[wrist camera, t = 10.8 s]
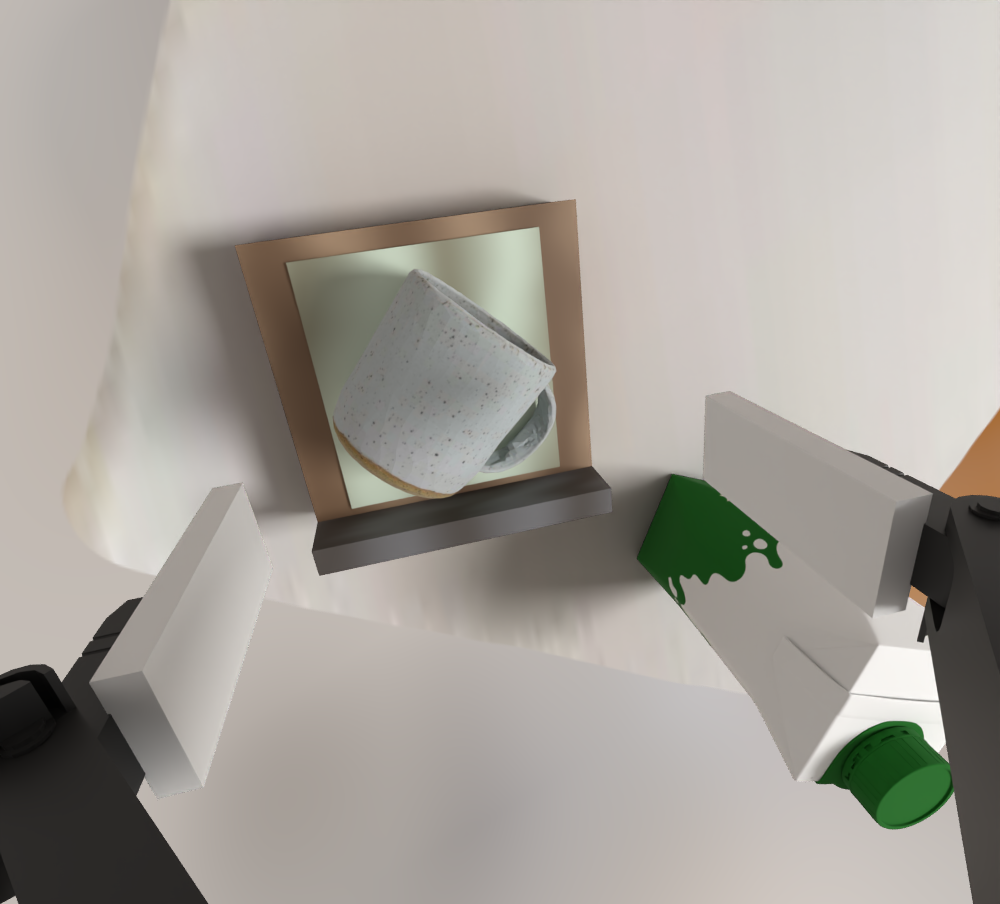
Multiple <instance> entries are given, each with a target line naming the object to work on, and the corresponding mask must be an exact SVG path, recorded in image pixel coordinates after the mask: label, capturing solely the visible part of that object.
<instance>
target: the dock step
mask: <svg viewBox="0 0 1000 904" xmlns="http://www.w3.org/2000/svg"><path fill="white" fill-rule="evenodd" d="M235 248H236V252H237V255H238V258H239V262H240V265H241V268H242V272H243V275H244V278H245V282H246V285H247V288H248V292H249V295H250V298H251V302H252V305H253V308H254V312H255V315H256V318H257V322H258V325H259V328H260V332H261V335H262V338H263V342H264V345H265V348H266V352H267V355H268V358H269V362H270V365H271V368H272V371H273V375H274V378H275V381H276V385H277V388H278V391H279V395H280V398H281V401H282V405H283V408H284V411H285V415H286V418H287V421H288V425H289V428H290V431H291V435H292V438H293V441H294V445H295V448H296V451H297V455H298V458H299V461H300V465H301V468H302V471H303V475H304V478H305V481H306V485H307V488H308V491H309V495H310V498H311V501H312V505H313V508H314V511H315V515H316V518H317V521H318V524H317V529H316V533H315V538H314V543H313V548H312V554H313V557H314V560H315V563H316V567H317V570H318V573H319V576H321V575H325V574H330V573H334V572H339V571H344V570H348V569H353V568H357V567H362V566H367V565H371V564H376V563H380V562H385V561H390V560H394V559H399V558H403V557H408V556H412V555H417V554H422V553H426V552H431V551H435V550H440V549H445V548H449V547H454V546H458V545H463V544H468V543H472V542H477V541H481V540H486V539H491V538H495V537H500V536H504V535H509V534H513V533H518V532H523V531H527V530H532V529H536V528H541V527H546V526H550V525H555V524H559V523H564V522H569V521H573V520H578V519H582V518H587V517H592V516H596V515H601V514H605V513H610V512H612V496H611V487H610V486H609V485H608V484H607V483H606V482H605V481H604V479H603V478H602V477H601V476H600V475H599V474H598V473H597V471H596V470H595V469H594V468H593V467H592V460H591V444H590V427H589V411H588V395H587V378H586V362H585V345H584V329H583V313H582V296H581V280H580V263H579V247H578V230H577V214H576V199H574V200H566V201H557V202H549V203H542V204H535V205H527V206H520V207H513V208H505V209H498V210H490V211H483V212H476V213H468V214H461V215H454V216H446V217H439V218H431V219H424V220H417V221H409V222H402V223H395V224H387V225H380V226H372V227H365V228H358V229H350V230H343V231H336V232H328V233H321V234H313V235H306V236H299V237H291V238H284V239H277V240H269V241H262V242H255V243H248V244H242V245H235ZM413 269H421V270H423V271H425V272H428V273H430V274H431V275H433V276H434V277H436V278H438V279H440V280H441V281H443V282H444V283H446V284H447V285H449V286H451V287H452V288H454V289H455V290H456V291H458V292H460V293H462V294H463V295H464V296H465V297H467V298H468V299H470V300H471V301H473V302H474V303H476V304H477V305H479V306H480V307H482V308H483V309H484V310H486V311H487V312H488V313H489V314H491V315H492V316H493V317H495V318H496V319H498V320H499V321H501V322H503V323H504V324H505V325H506V326H507V327H509V328H510V329H511V330H513V331H514V332H515V333H516V334H518V335H519V336H521V337H522V338H523V339H524V340H526V341H527V342H528V343H529V344H531V345H532V346H533V347H534V348H536V349H537V350H538V351H539V352H540V353H541V354H543V355H544V356H545V357H546V358H548V359H549V360H550V361H551V362H552V363H553V365H554V366H555V368H556V373H555V374H554V376H553V378H552V379H551V381H550V382H549V383H548V385H549V387H550V389H551V391H552V393H553V395H554V397H555V403H556V418H555V421H554V424H553V427H552V429H551V431H550V433H549V434H548V436H547V437H546V439H545V440H544V442H543V443H542V444H541V445H540V446H539V448H538V449H537V450H536V451H535V452H534V453H533V454H532V455H530V456H529V457H528V458H527V459H526V460H524V461H523V462H522V463H520V464H518V465H516V466H514V467H513V468H510V469H508V470H505V471H503V472H499V473H483V472H478V473H477V474H476V475H475V476H474V477H473V478H472V479H471V480H470V481H469V482H468V483H467V484H466V485H465V486H464V487H463V488H462V489H460V490H459V491H458V492H456V493H455V494H454V495H452V496H450V497H445V498H435V499H430V498H424V497H419V496H415V495H412V494H409V493H406V492H404V491H402V490H399V489H397V488H395V487H393V486H391V485H389V484H387V483H385V482H384V481H382V480H380V479H379V478H377V477H376V476H374V475H373V474H371V473H370V472H369V471H367V470H366V469H365V468H363V467H362V466H361V465H360V464H359V463H358V462H357V461H356V460H355V459H353V458H352V457H351V456H350V455H349V453H348V452H347V451H346V450H345V448H344V447H343V445H342V444H341V442H340V441H339V439H338V437H337V434H336V432H335V430H334V426H333V413H334V409H335V406H336V403H337V401H338V398H339V396H340V393H341V390H342V388H343V386H344V384H345V383H346V381H347V379H348V378H349V376H350V374H351V373H352V371H353V369H354V368H355V366H356V364H357V363H358V361H359V359H360V358H361V356H362V354H363V352H364V351H365V349H366V347H367V346H368V344H369V342H370V340H371V338H372V336H373V335H374V333H375V331H376V329H377V328H378V326H379V324H380V322H381V321H382V319H383V317H384V316H385V314H386V312H387V310H388V309H389V307H390V305H391V304H392V302H393V300H394V298H395V297H396V295H397V293H398V292H399V290H400V288H401V286H402V285H403V283H404V281H405V279H406V278H407V276H408V274H409V272H411V271H412V270H413ZM537 404H538V397H537V398H536V399H535V401H534V402H533V403H532V405H531V406H530V407H529V408H528V410H527V411H526V412H525V413H524V415H523V416H522V417H521V418H520V419H519V421H518V422H517V423H516V424H515V425H514V427H513V428H512V429H511V430H510V431H509V433H508V434H507V435H506V436H505V437H504V439H503V440H502V441H501V442H500V443H499V445H498V446H497V448H496V449H495V450H494V451H497V450H499V449H501V448H503V447H505V446H506V445H507V444H508V443H509V441H511V440H512V439H514V438H515V436H516V435H517V434H518V433H519V432H520V431H521V429H522V428H523V427H524V426H525V425H526V424H527V423H528V421H529V420H530V419H531V417H532V416H533V415H534V411H535V409H536V407H537Z"/></svg>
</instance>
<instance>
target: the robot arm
mask: <svg viewBox="0 0 1000 904" xmlns="http://www.w3.org/2000/svg"><path fill="white" fill-rule="evenodd" d="M703 479H704V480H705V481H706V482H707V483H708V484H710V485H711V486H712V487H713V488H715V489H716V490H717V491H718V492H719V493H721V494H722V495H723V496H724V497H725V498H727V499H728V500H729V501H730V502H732V503H733V504H734V505H735V506H736V507H738V508H739V509H740V510H741V511H742V512H744V513H745V514H746V515H747V516H749V517H750V518H751V519H752V520H753V521H755V522H756V523H757V524H758V525H759V526H761V527H762V528H763V529H764V530H766V531H767V532H768V533H769V534H770V535H772V536H773V537H774V538H775V539H776V540H778V541H779V542H780V543H781V544H783V545H784V546H785V547H786V548H787V549H789V550H790V551H791V552H792V553H793V554H795V555H796V556H797V557H798V558H800V559H801V560H802V561H803V562H804V563H806V564H807V565H808V566H809V567H810V568H812V569H813V570H814V571H815V572H817V573H818V574H819V575H820V576H821V577H823V578H824V579H825V580H826V581H827V582H829V583H830V584H831V585H832V586H834V587H835V588H836V589H837V590H838V591H840V592H841V593H842V594H843V595H844V596H846V597H847V598H848V599H849V600H851V601H852V602H853V603H854V604H855V605H857V606H858V607H859V608H860V609H861V610H863V611H864V612H865V613H866V614H868V615H869V616H870V617H871V618H872V619H873V618H877V617H881V616H885V615H889V614H893V613H897V612H901V611H904V610H906V606H907V602H908V598H909V593H910V589H911V585H912V586H913V587H915V588H916V589H918V590H919V591H921V592H922V593H923V594H925V595H926V596H928V598H927V602H926V606H925V610H924V614H923V618H922V622H921V626H920V630H919V634H918V638H917V642H921V643H924V639H925V636H927V635H928V639H929V645H930V651H931V657H932V663H933V669H934V675H935V681H936V687H937V693H938V699H939V704H940V710H941V716H942V722H943V728H944V734H945V740H946V746H947V752H948V758H949V764H950V770H951V776H952V781H953V787H954V793H955V799H956V805H957V811H958V817H959V823H960V828H961V835H962V841H963V846H964V853H965V858H966V864H967V870H968V876H969V882H970V888H971V893H972V900H973V904H1000V498H997V497H992V496H982V495H970V496H962V497H958V498H956V499H955V498H953V497H951V496H949V495H947V494H945V493H943V492H941V491H939V490H937V489H935V488H933V487H931V486H929V485H927V484H925V483H923V482H921V481H919V480H917V479H915V478H913V477H911V476H909V475H905V476H904V473H902V472H900V471H898V470H896V469H894V468H892V467H890V468H889V467H888V465H886V464H884V463H882V462H880V461H878V460H876V459H874V458H872V457H870V456H867V455H864V454H860V453H856V452H853V451H849V450H846V449H844V448H842V447H840V446H838V445H836V444H834V443H832V442H830V441H828V440H826V439H824V438H822V437H820V436H818V435H816V434H814V433H812V432H810V431H808V430H806V429H804V428H802V427H800V426H798V425H796V424H794V423H792V422H790V421H788V420H786V419H784V418H782V417H780V416H778V415H776V414H774V413H772V412H770V411H768V410H766V409H764V408H762V407H760V406H758V405H756V404H754V403H752V402H750V401H748V400H746V399H744V398H743V397H741V396H739V395H737V394H735V393H733V392H731V391H728V392H722V393H717V394H712V395H706V401H705V430H704V458H703ZM272 570H273V566H272V563H271V561H270V558H269V555H268V552H267V549H266V547H265V544H264V541H263V538H262V535H261V533H260V530H259V527H258V524H257V521H256V519H255V516H254V513H253V510H252V507H251V504H250V502H249V499H248V496H247V493H246V490H245V488H244V485H243V483H238V484H233V485H227V486H222V487H217V488H212V490H211V491H210V493H209V494H208V496H207V498H206V499H205V501H204V502H203V504H202V506H201V507H200V509H199V510H198V512H197V513H196V515H195V517H194V518H193V520H192V521H191V523H190V524H189V526H188V528H187V529H186V531H185V532H184V534H183V535H182V537H181V539H180V540H179V542H178V543H177V545H176V546H175V548H174V550H173V551H172V553H171V554H170V556H169V557H168V559H167V561H166V562H165V564H164V565H163V567H162V568H161V570H160V572H159V573H158V575H157V576H156V578H155V580H154V581H153V583H152V584H151V586H150V588H149V589H148V591H147V592H146V594H145V595H144V597H141V598H137V599H132V600H128V601H126V602H125V603H124V604H123V605H122V606H120V607H119V608H118V609H117V610H116V611H115V612H113V613H112V614H111V615H110V616H109V617H107V618H106V620H105V621H104V622H103V624H102V625H101V627H100V628H99V629H98V631H97V633H96V634H95V635H94V637H93V641H91V642H89V644H88V645H87V647H86V648H85V650H84V651H83V653H82V657H79V658H78V660H77V661H76V663H75V664H74V665H73V667H72V668H71V670H70V671H69V673H68V674H67V676H66V677H65V678H64V680H63V681H62V682H61V681H60V679H59V678H58V676H57V674H56V673H55V671H54V670H53V669H52V668H51V667H49V666H47V665H45V664H41V665H28V666H24V667H21V668H17V669H13V670H10V671H8V672H6V673H4V674H2V675H0V904H1V903H3V902H5V901H6V900H8V899H10V898H12V897H14V896H16V898H17V901H18V903H19V904H208V903H207V901H206V900H205V898H204V897H203V895H202V894H201V892H200V891H199V889H198V888H197V886H196V885H195V883H194V882H193V880H192V879H191V877H190V876H189V874H188V873H187V871H186V870H185V868H184V867H183V865H182V864H181V862H180V861H179V859H178V858H177V856H176V855H175V853H174V852H173V850H172V849H171V847H170V846H169V844H168V843H167V841H166V840H165V838H164V837H163V835H162V834H161V832H160V831H159V829H158V828H157V826H156V825H155V823H154V822H153V820H152V819H151V817H150V816H149V815H148V813H147V812H146V810H145V809H144V807H143V805H142V804H141V803H140V801H139V800H138V798H137V797H136V795H137V793H138V791H139V788H140V785H141V783H142V781H143V779H144V777H145V779H146V781H147V782H148V784H149V786H150V787H151V789H152V791H153V793H154V794H155V796H156V798H157V799H160V798H164V797H168V796H172V795H175V794H180V793H184V792H188V791H192V790H195V789H199V788H203V787H204V784H205V781H206V778H207V775H208V772H209V769H210V765H211V762H212V759H213V756H214V753H215V750H216V747H217V743H218V740H219V737H220V734H221V731H222V727H223V725H224V721H225V718H226V715H227V712H228V709H229V706H230V703H231V699H232V696H233V693H234V690H235V687H236V684H237V680H238V677H239V674H240V671H241V668H242V665H243V662H244V658H245V655H246V652H247V649H248V646H249V643H250V640H251V636H252V633H253V630H254V627H255V623H256V621H257V617H258V614H259V611H260V608H261V605H262V602H263V599H264V595H265V592H266V589H267V586H268V583H269V580H270V577H271V573H272Z"/></svg>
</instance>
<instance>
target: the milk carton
mask: <svg viewBox="0 0 1000 904" xmlns="http://www.w3.org/2000/svg"><path fill="white" fill-rule="evenodd" d="M637 559H638V561H639V562H640V563H641V564H642V565H643V566H644V567H645V568H646V569H647V571H648V572H649V573H650V574H651V575H652V576H653V577H654V578H655V579H656V581H657V582H658V583H659V584H660V585H661V586H662V587H663V588H664V589H665V591H666V592H667V593H668V594H669V595H670V596H671V597H672V598H673V599H674V601H675V602H676V603H677V604H678V605H679V606H680V608H681V609H682V610H683V611H684V613H685V614H686V615H687V616H688V618H689V619H690V620H691V622H692V623H693V624H694V625H695V627H696V628H697V629H698V630H699V632H700V633H701V634H702V636H703V637H704V638H705V639H706V641H707V642H708V643H709V645H710V646H711V647H712V648H713V650H714V651H715V652H716V653H717V655H718V656H719V657H720V659H721V660H722V661H723V662H724V664H725V665H726V666H727V668H728V669H729V670H730V671H731V673H732V674H733V675H734V677H735V678H736V679H737V680H738V682H739V683H740V684H741V685H742V687H743V688H744V689H745V691H746V692H747V693H748V695H749V696H750V697H751V698H752V700H753V701H754V703H755V704H756V706H757V708H758V709H759V712H760V713H761V715H762V717H763V719H764V721H765V723H766V725H767V727H768V729H769V731H770V733H771V735H772V737H773V739H774V741H775V743H776V745H777V747H778V749H779V751H780V753H781V755H782V757H783V759H784V761H785V763H786V765H787V767H788V769H789V771H790V773H791V775H792V777H793V779H794V780H796V781H801V782H807V781H815V782H816V783H817V784H834V785H836V786H838V787H840V788H843V789H849V790H850V791H851V793H852V794H853V795H854V796H855V797H856V799H857V800H858V801H859V802H860V803H861V805H862V806H863V807H864V808H865V809H866V811H867V812H868V813H869V814H870V815H871V817H872V818H873V819H874V820H875V821H876V822H877V823H878V824H879V825H880V826H882V827H884V828H887V829H902V828H906V827H909V826H912V825H915V824H917V823H919V822H921V821H923V820H924V819H926V818H928V817H930V816H931V815H932V814H934V813H935V812H936V811H938V810H939V809H940V808H941V807H942V806H943V805H944V804H945V803H946V802H947V800H948V799H949V798H950V797H951V795H952V794H953V792H954V787H953V781H952V776H951V770H950V764H949V763H948V762H947V761H946V760H945V759H944V758H942V756H940V755H939V754H938V752H939V751H940V749H941V748H942V747H943V746H944V744H945V743H946V740H945V734H944V728H943V722H942V716H941V710H940V704H939V699H938V693H937V687H936V681H935V675H934V669H933V663H932V657H931V651H930V645H929V639H928V635H927V636H925V639H924V643H921V642H917V638H918V634H919V630H920V626H921V622H922V618H923V614H924V610H925V608H924V607H923V606H921V605H920V604H918V603H917V602H915V601H914V600H913V599H911V598H910V597H909V598H908V602H907V606H906V610H904V611H901V612H897V613H893V614H889V615H885V616H881V617H877V618H873V619H872V618H871V617H870V616H869V615H868V614H866V613H865V612H864V611H863V610H861V609H860V608H859V607H858V606H857V605H855V604H854V603H853V602H852V601H851V600H849V599H848V598H847V597H846V596H844V595H843V594H842V593H841V592H840V591H838V590H837V589H836V588H835V587H834V586H832V585H831V584H830V583H829V582H827V581H826V580H825V579H824V578H823V577H821V576H820V575H819V574H818V573H817V572H815V571H814V570H813V569H812V568H810V567H809V566H808V565H807V564H806V563H804V562H803V561H802V560H801V559H800V558H798V557H797V556H796V555H795V554H793V553H792V552H791V551H790V550H789V549H787V548H786V547H785V546H784V545H783V544H781V543H780V542H779V541H778V540H776V539H775V538H774V537H773V536H772V535H770V534H769V533H768V532H767V531H766V530H764V529H763V528H762V527H761V526H759V525H758V524H757V523H756V522H755V521H753V520H752V519H751V518H750V517H749V516H747V515H746V514H745V513H744V512H742V511H741V510H740V509H739V508H738V507H736V506H735V505H734V504H733V503H732V502H730V501H729V500H728V499H727V498H725V497H724V496H723V495H722V494H721V493H719V492H718V491H717V490H716V489H715V488H713V487H712V486H711V485H710V484H708V483H707V482H706V481H704V480H699V479H694V478H689V477H685V476H680V475H675V474H672V476H671V478H670V480H669V483H668V485H667V488H666V490H665V492H664V495H663V497H662V499H661V502H660V504H659V507H658V509H657V511H656V514H655V516H654V519H653V521H652V523H651V526H650V528H649V531H648V533H647V535H646V538H645V540H644V542H643V545H642V547H641V550H640V552H639V554H638V557H637Z"/></svg>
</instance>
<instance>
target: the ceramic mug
mask: <svg viewBox="0 0 1000 904" xmlns="http://www.w3.org/2000/svg"><path fill="white" fill-rule="evenodd" d="M555 373H556V368H555V366H554V365H553V363H552V362H551V361H550V360H549V359H548V358H546V357H545V356H544V355H543V354H541V353H540V352H539V351H538V350H537V349H536V348H534V347H533V346H532V345H531V344H529V343H528V342H527V341H526V340H524V339H523V338H522V337H521V336H519V335H518V334H516V333H515V332H514V331H513V330H511V329H510V328H509V327H507V326H506V325H505V324H504V323H503V322H501V321H499V320H498V319H496V318H495V317H493V316H492V315H491V314H489V313H488V312H487V311H486V310H484V309H483V308H482V307H480V306H479V305H477V304H476V303H474V302H473V301H471V300H470V299H468V298H467V297H465V296H464V295H463V294H462V293H460V292H458V291H456V290H455V289H454V288H452V287H451V286H449V285H447V284H446V283H444V282H443V281H441V280H440V279H438V278H436V277H434V276H433V275H431V274H430V273H428V272H425V271H423V270H421V269H413V270H412V271H411V272H409V274H408V276H407V278H406V279H405V281H404V283H403V285H402V286H401V288H400V290H399V292H398V293H397V295H396V297H395V298H394V300H393V302H392V304H391V305H390V307H389V309H388V310H387V312H386V314H385V316H384V317H383V319H382V321H381V322H380V324H379V326H378V328H377V329H376V331H375V333H374V335H373V336H372V338H371V340H370V342H369V344H368V346H367V347H366V349H365V351H364V352H363V354H362V356H361V358H360V359H359V361H358V363H357V364H356V366H355V368H354V369H353V371H352V373H351V374H350V376H349V378H348V379H347V381H346V383H345V384H344V386H343V388H342V390H341V393H340V396H339V398H338V401H337V403H336V406H335V409H334V413H333V426H334V430H335V432H336V434H337V437H338V439H339V441H340V442H341V444H342V445H343V447H344V448H345V450H346V451H347V452H348V453H349V455H350V456H351V457H352V458H353V459H355V460H356V461H357V462H358V463H359V464H360V465H361V466H362V467H363V468H365V469H366V470H367V471H369V472H370V473H371V474H373V475H374V476H376V477H377V478H379V479H380V480H382V481H384V482H385V483H387V484H389V485H391V486H393V487H395V488H397V489H399V490H402V491H404V492H406V493H409V494H412V495H415V496H419V497H424V498H430V499H435V498H445V497H450V496H452V495H454V494H455V493H456V492H458V491H459V490H460V489H462V488H463V487H464V486H465V485H466V484H467V483H468V482H469V481H470V480H471V479H472V478H473V477H474V476H475V475H476V474H477V473H478V472H483V473H499V472H503V471H505V470H508V469H510V468H513V467H514V466H516V465H518V464H520V463H522V462H523V461H524V460H526V459H527V458H528V457H529V456H530V455H532V454H533V453H534V452H535V451H536V450H537V449H538V448H539V446H540V445H541V444H542V443H543V442H544V440H545V439H546V437H547V436H548V434H549V433H550V431H551V429H552V427H553V424H554V421H555V418H556V403H555V397H554V395H553V393H552V391H551V389H550V387H549V385H548V383H549V382H550V381H551V379H552V378H553V376H554V374H555ZM537 397H538V404H537V407H536V409H535V411H534V415H533V416H532V417H531V419H530V420H529V421H528V423H527V424H526V425H525V426H524V427H523V428H522V429H521V431H520V432H519V433H518V434H517V435H516V436H515V438H514V439H512V440H511V441H509V443H508V444H507V445H506V446H505V447H503V448H501V449H499V450H497V451H494V450H495V449H496V448H497V446H498V445H499V443H500V442H501V441H502V440H503V439H504V437H505V436H506V435H507V434H508V433H509V431H510V430H511V429H512V428H513V427H514V425H515V424H516V423H517V422H518V421H519V419H520V418H521V417H522V416H523V415H524V413H525V412H526V411H527V410H528V408H529V407H530V406H531V405H532V403H533V402H534V401H535V399H536V398H537Z"/></svg>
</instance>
